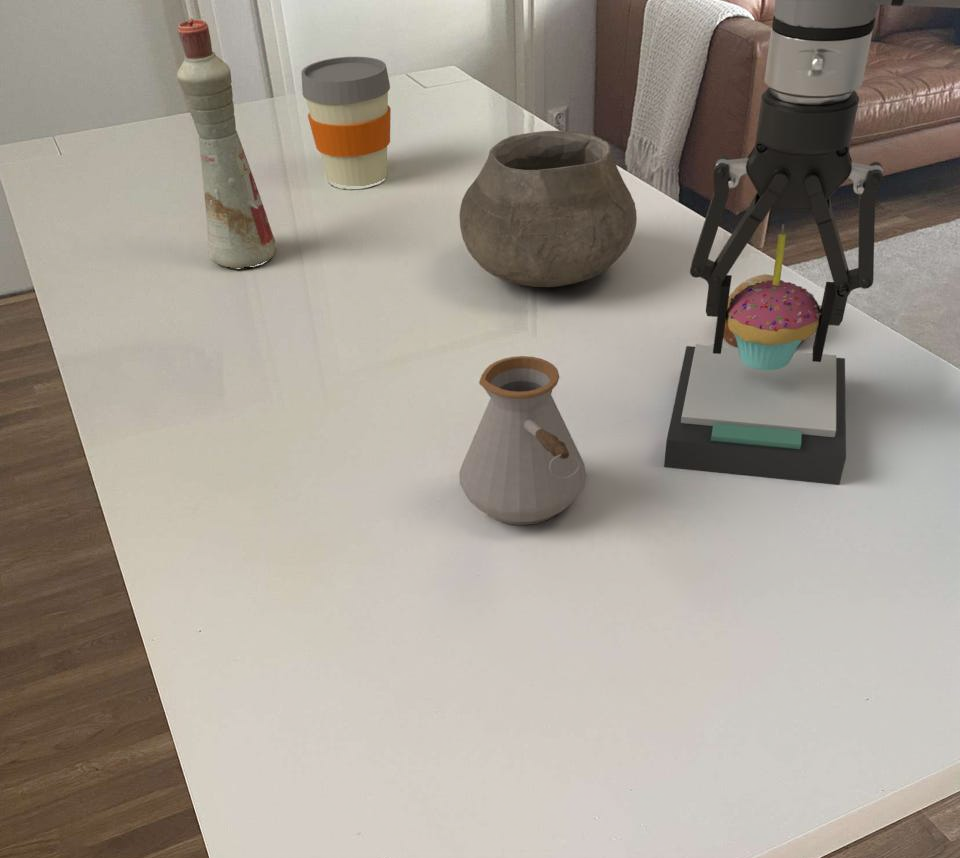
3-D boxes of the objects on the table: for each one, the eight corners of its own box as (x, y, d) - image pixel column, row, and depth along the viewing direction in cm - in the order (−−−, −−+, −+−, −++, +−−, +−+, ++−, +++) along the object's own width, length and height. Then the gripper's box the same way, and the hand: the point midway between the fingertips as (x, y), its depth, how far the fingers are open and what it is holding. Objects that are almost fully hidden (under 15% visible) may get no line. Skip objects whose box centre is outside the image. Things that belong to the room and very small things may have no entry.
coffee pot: (451, 473, 96) (440, 327, 86) (568, 456, 98) (571, 310, 87) (494, 622, 81) (486, 468, 71) (632, 600, 82) (644, 445, 72)
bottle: (198, 257, 135) (139, 18, 115) (259, 238, 138) (211, 2, 119) (228, 279, 130) (171, 32, 110) (289, 258, 133) (245, 15, 114)
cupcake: (715, 337, 100) (731, 215, 91) (802, 335, 99) (826, 212, 91) (727, 382, 93) (745, 256, 85) (820, 380, 93) (847, 253, 85)
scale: (839, 384, 105) (846, 350, 102) (839, 484, 92) (848, 449, 90) (683, 371, 108) (687, 338, 105) (663, 466, 96) (667, 432, 93)
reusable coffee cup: (415, 176, 152) (406, 66, 142) (350, 201, 146) (335, 88, 136) (364, 157, 159) (351, 51, 148) (299, 180, 153) (281, 71, 143)
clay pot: (437, 259, 131) (428, 137, 120) (584, 226, 136) (587, 106, 126) (506, 330, 116) (502, 198, 106) (667, 290, 122) (678, 160, 111)
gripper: (671, 100, 79) (649, 360, 95) (958, 109, 75) (885, 380, 91) (681, 71, 85) (659, 323, 100) (950, 78, 80) (882, 340, 96)
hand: (766, 350), depth 96 cm, fingers closed on cupcake, 8 cm apart
